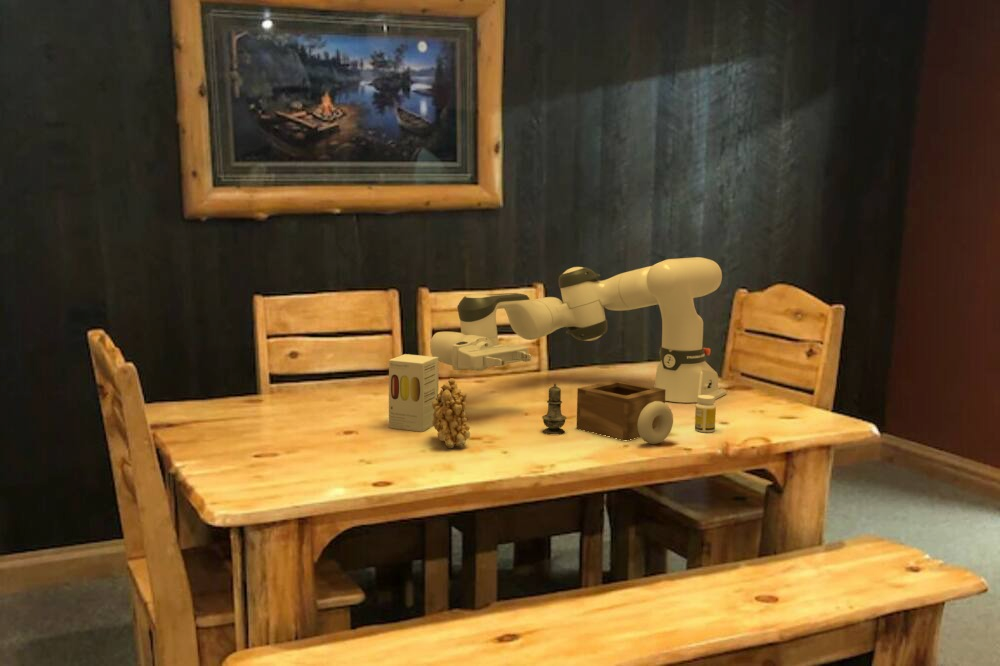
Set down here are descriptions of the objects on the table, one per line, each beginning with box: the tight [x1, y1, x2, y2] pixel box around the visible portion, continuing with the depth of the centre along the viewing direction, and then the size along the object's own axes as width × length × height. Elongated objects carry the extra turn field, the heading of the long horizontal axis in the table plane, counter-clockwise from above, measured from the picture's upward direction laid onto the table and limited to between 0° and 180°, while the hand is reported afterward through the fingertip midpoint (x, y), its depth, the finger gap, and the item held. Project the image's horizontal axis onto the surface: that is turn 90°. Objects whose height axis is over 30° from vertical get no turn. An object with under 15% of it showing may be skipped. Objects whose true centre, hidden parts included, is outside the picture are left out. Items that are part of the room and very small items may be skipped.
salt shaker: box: [541, 382, 567, 435], centre depth 219 cm, size 6×6×12 cm
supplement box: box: [388, 353, 440, 433], centre depth 223 cm, size 10×9×17 cm
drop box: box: [576, 379, 666, 441], centre depth 222 cm, size 15×15×10 cm
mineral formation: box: [432, 377, 471, 449], centre depth 208 cm, size 8×13×15 cm, turn 21°
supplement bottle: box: [694, 395, 717, 434], centre depth 222 cm, size 5×5×8 cm
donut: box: [637, 401, 674, 445], centre depth 210 cm, size 10×3×10 cm, turn 125°
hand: (516, 360), depth 226 cm, fingers open, 8 cm apart
